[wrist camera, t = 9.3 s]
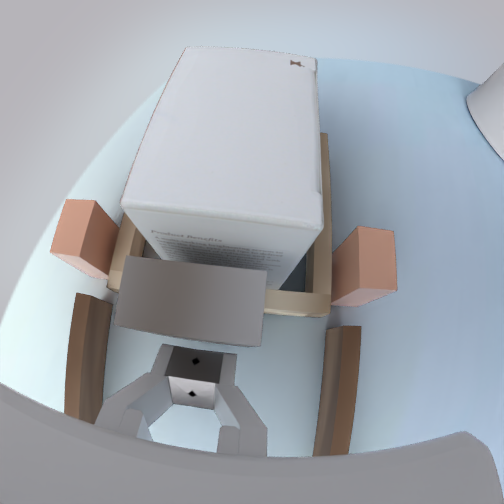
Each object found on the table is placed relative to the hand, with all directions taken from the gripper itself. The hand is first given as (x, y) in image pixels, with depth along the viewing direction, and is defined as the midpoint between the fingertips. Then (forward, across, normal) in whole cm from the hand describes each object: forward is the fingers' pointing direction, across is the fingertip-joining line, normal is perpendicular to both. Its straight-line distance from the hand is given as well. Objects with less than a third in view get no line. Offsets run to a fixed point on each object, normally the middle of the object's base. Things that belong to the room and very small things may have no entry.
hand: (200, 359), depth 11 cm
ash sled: (+10, 0, -3) cm, 10 cm away
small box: (+9, -1, -2) cm, 9 cm away
